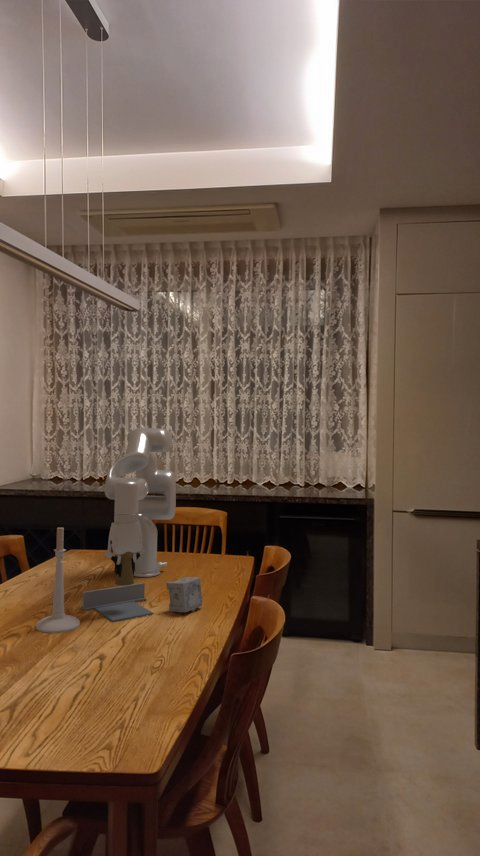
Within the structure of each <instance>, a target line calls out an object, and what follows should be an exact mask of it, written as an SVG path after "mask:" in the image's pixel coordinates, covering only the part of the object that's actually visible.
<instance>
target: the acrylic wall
mask: <svg viewBox="0 0 480 856" xmlns="http://www.w3.org/2000/svg"><path fill="white" fill-rule="evenodd" d="M145 585H146V584H145V582H139V583H134V584H132V585H125V586H123V585H117V586H113V587H107V588H100V589H99V588H98V589H93V590H87V591H83V592H82V605H81V606H80V609H82V610H83V611H85V612H87V611H94V610H95V608H98V607H104V606H110V605H116V604H121V603H127V602H133V601H134V602H136V603H140V602H145V601H147V598H146V597H145V590H146V589H145ZM144 600H145V601H144ZM139 601H140V602H139Z"/></svg>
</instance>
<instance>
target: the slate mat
mask: <svg viewBox="0 0 480 856" xmlns="http://www.w3.org/2000/svg"><path fill="white" fill-rule="evenodd" d="M94 610H95V612H97V613H99V614H100V615H102V616H103V617H104V618H106V619H107V620H109V621H110V622H112V623H117V622H120V621H126V620H127V621H128V620H132V619H131V618H133V619H137V618H136V617H138V618H141V617H142V616H143V617H147V615H148V616H152V614H153V615H154V612H153V611H151V610H149V609H148V608H146V607H144V606H142V605H141V604H139V602H134V601H133V602H127V603H121V604H116V605H110V606H104V607H98V608H95V609H94Z"/></svg>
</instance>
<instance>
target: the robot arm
mask: <svg viewBox="0 0 480 856" xmlns="http://www.w3.org/2000/svg"><path fill="white" fill-rule="evenodd" d="M126 439H127V446H126V451H125V453H124V454H125V455H124V456H122V457H120V458H119V459H118V460H116V461H115V462H114V463H113V464H112V465H111V466H110V467H109V469H108V472H107V474H106V479H105V483H104V494H105V497H106V498H107V499H108V500H114V514H113V515H114V517H113V518H114V519H113V520H114V521H113V522H111V526H110V528H109V529H110V530H109V534H108V543H107V549H106V552H105V554H104V556H105V557H106V558H108V559H110V560H111V561H112V562H113V564H114V574H115V576H116V575H117V574H119V577H121V570H122V565H121V564H120V562H121V555H122V554H124V553H125V552H132V553H133V558H132V571H133V577H135V578H139V577H140V578H150V577H151V578H152V577H156V576H159V575H161V574H160V573H161V568H164V567H165V568H166V567H168V563H167V562H168V561H164V562H163V561H158V560H157V559H158V558H157V556H158V552H157V551H158V529H157V526H156V525H155V523H154V522H153V520H157V521H158V520H161V521H162V520H164V521H165V520H166V521H168V520H172V519H173V518H174V517H175V515H176V507H177V505H176V504H177V501H176V500H177V499H176V498H177V496H176V495H177V493H176V492H177V489H176V487H177V484H176V482H177V481H176V476H175V475H176V474H175V473H174V472H173V471H172V470H169V469H158V457H157V455H156V453H169V452H170V451H171V449H172V446H173V436H172V433H171V432H170V430H167V429H164V428H158V427H139V428H138V427H137V428H135V429H133V430H130V431H129V432H128V433H127V435H126ZM132 473H135V477H125V476H126V475H129V474H132ZM148 494H161V495H148ZM112 554H113V555H112Z"/></svg>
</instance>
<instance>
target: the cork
mask: <svg viewBox="0 0 480 856" xmlns="http://www.w3.org/2000/svg"><path fill="white" fill-rule="evenodd" d="M132 558H133V553H132V552H125V553H124V554H122V555H121V562H120V564H121V565H122V570H121V577H119V574H117V575H116V574H115V581H114V582H115V583H114V584H115V585H117V586H125V585H132V584H135V581H134V576H133V571H132Z"/></svg>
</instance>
